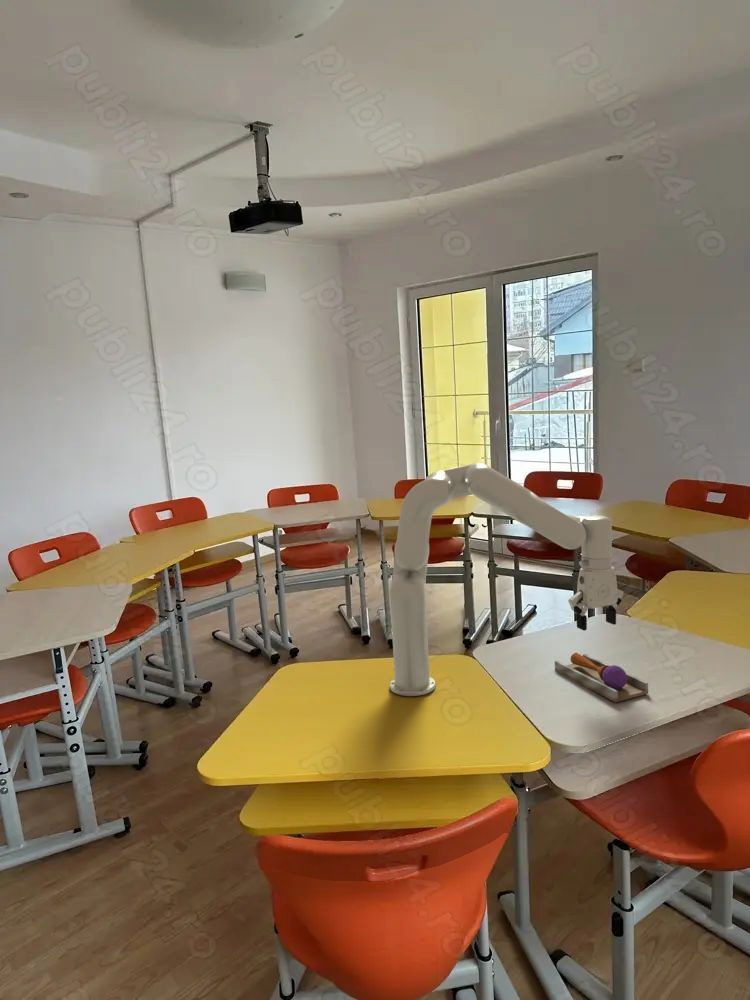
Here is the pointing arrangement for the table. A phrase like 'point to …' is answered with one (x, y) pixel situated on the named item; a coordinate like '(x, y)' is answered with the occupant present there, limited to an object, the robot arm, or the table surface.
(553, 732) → the table surface
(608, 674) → the kendama
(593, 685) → the rail cradle
